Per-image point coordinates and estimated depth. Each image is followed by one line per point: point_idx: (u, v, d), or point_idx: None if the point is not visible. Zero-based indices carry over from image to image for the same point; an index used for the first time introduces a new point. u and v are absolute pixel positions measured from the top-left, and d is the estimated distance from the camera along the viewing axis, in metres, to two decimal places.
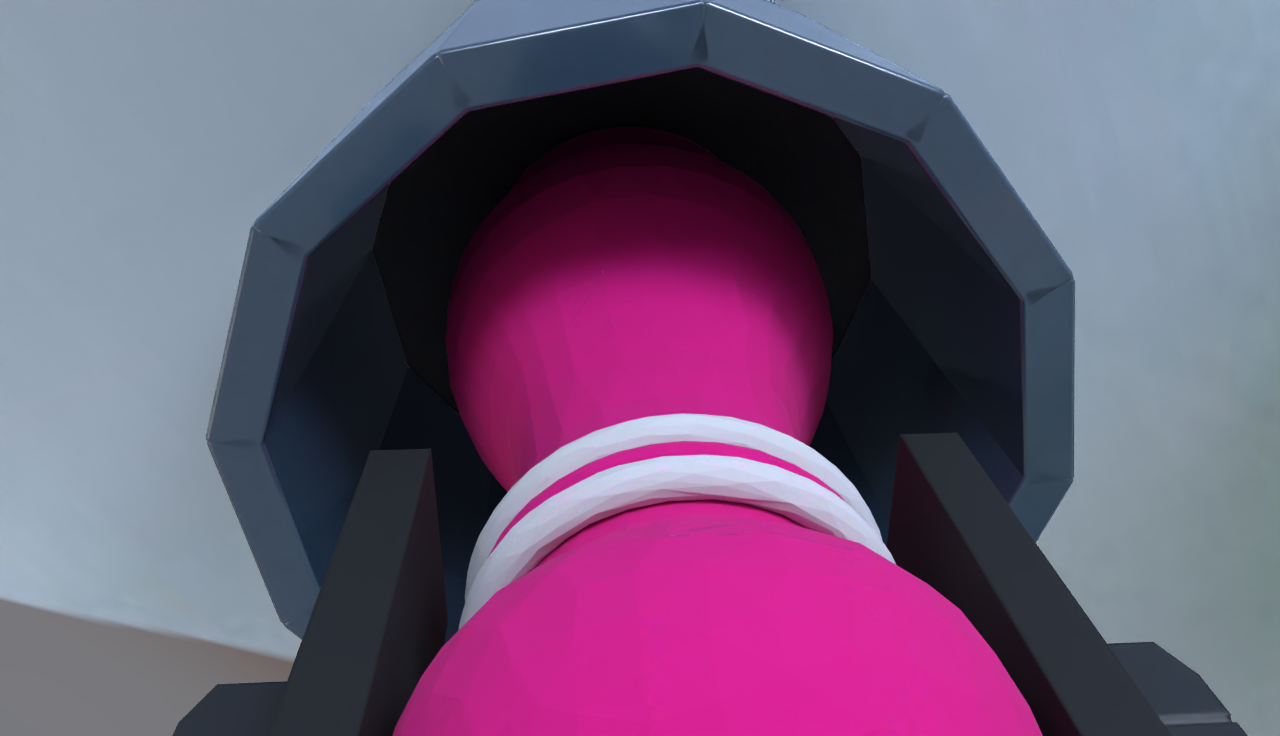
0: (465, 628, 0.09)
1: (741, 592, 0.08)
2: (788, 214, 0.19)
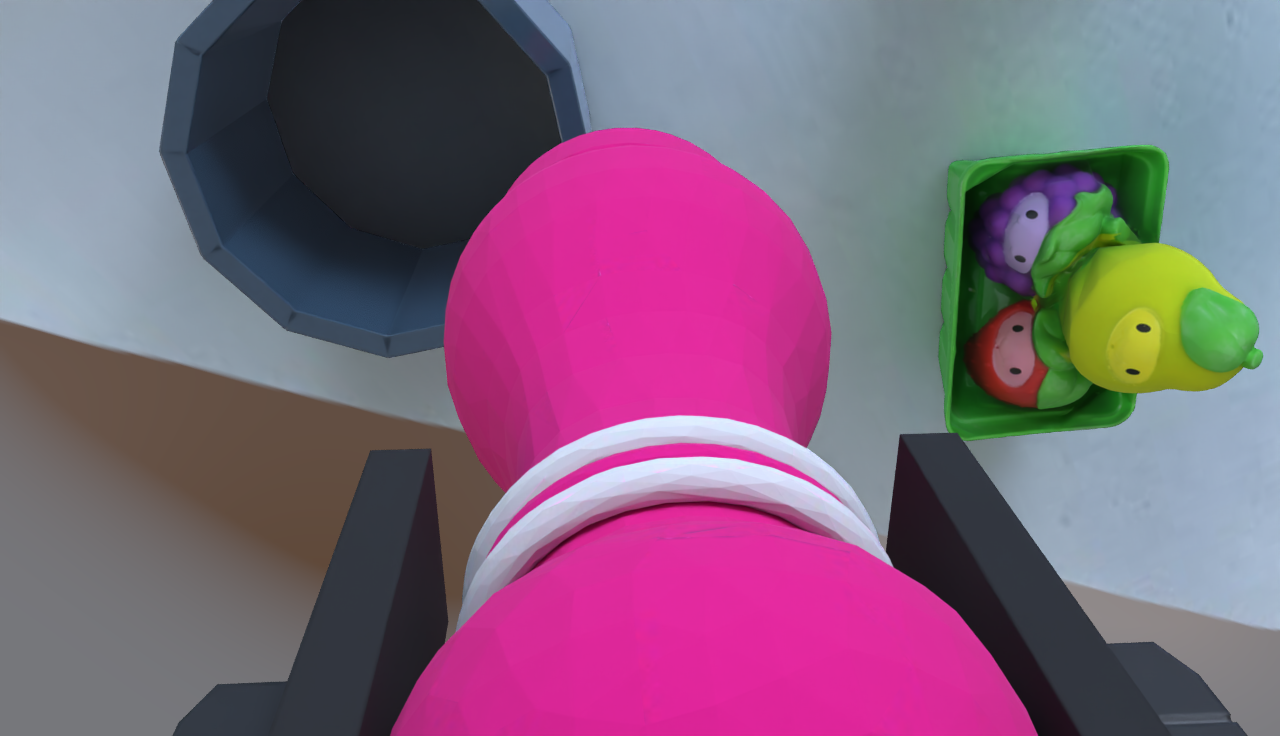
0: (462, 630, 0.09)
1: (737, 594, 0.08)
2: (786, 215, 0.19)
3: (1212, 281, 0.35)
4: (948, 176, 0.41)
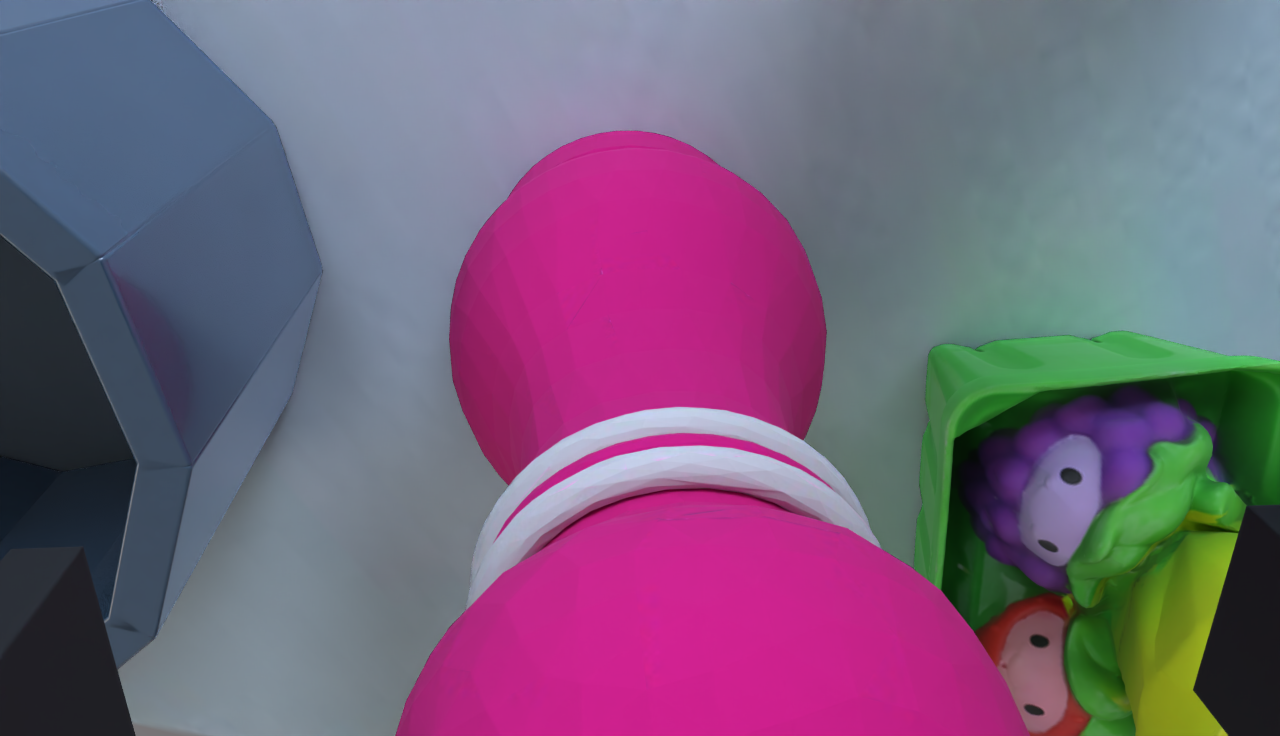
0: (473, 607, 0.09)
1: (733, 570, 0.08)
2: (783, 216, 0.19)
3: None
4: (927, 370, 0.25)
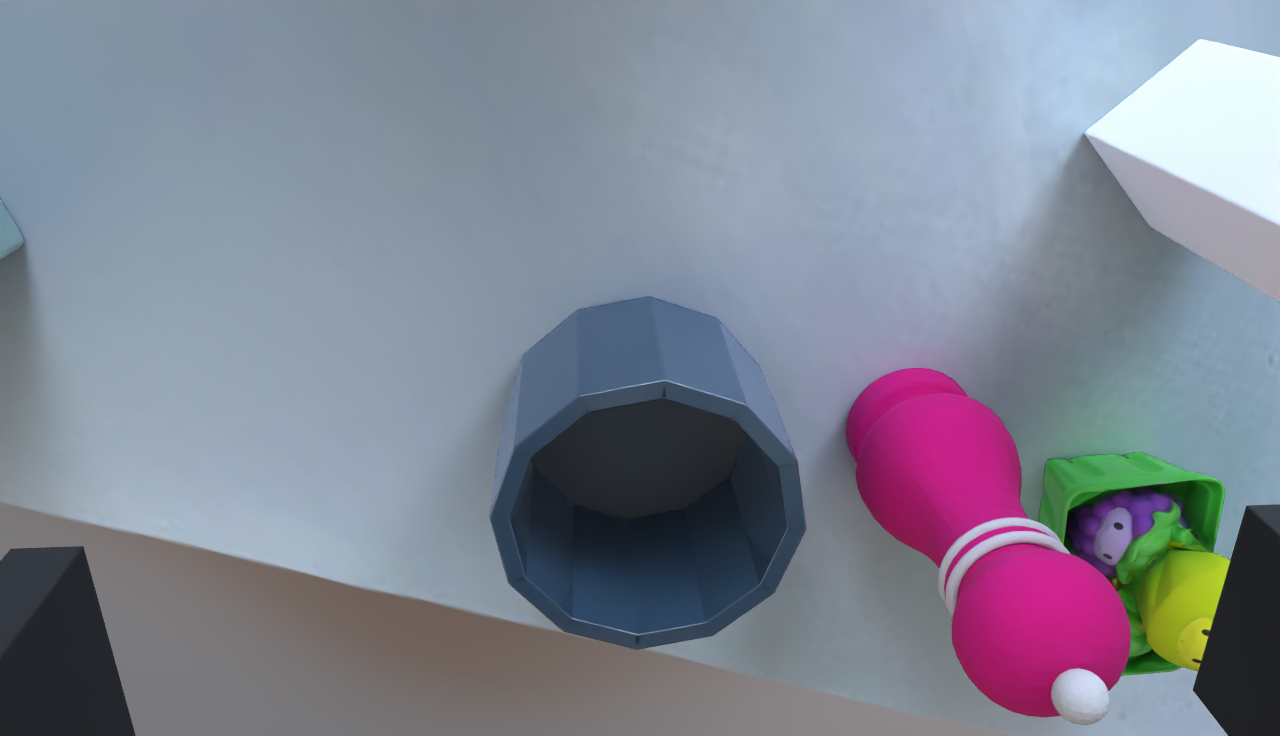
0: (985, 575, 0.36)
1: (1058, 566, 0.35)
2: (1000, 420, 0.46)
3: None
4: (1046, 471, 0.52)
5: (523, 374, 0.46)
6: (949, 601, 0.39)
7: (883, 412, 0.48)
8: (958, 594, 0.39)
